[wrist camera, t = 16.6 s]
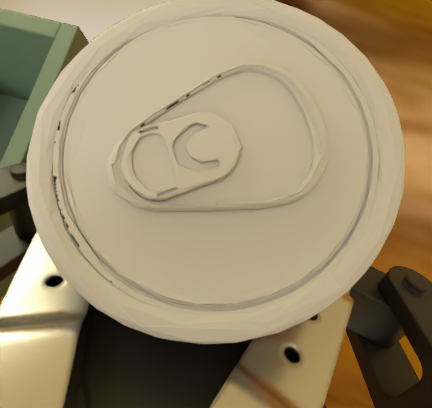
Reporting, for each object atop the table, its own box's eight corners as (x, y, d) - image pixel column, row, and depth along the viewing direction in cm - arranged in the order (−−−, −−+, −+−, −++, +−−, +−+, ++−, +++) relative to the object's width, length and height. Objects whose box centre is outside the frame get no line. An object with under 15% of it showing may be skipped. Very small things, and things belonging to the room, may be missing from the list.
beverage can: (275, 220, 18) (493, 97, 4) (229, 287, 18) (270, 470, 3) (211, 176, 19) (176, -80, 4) (164, 238, 18) (-70, 188, 4)
